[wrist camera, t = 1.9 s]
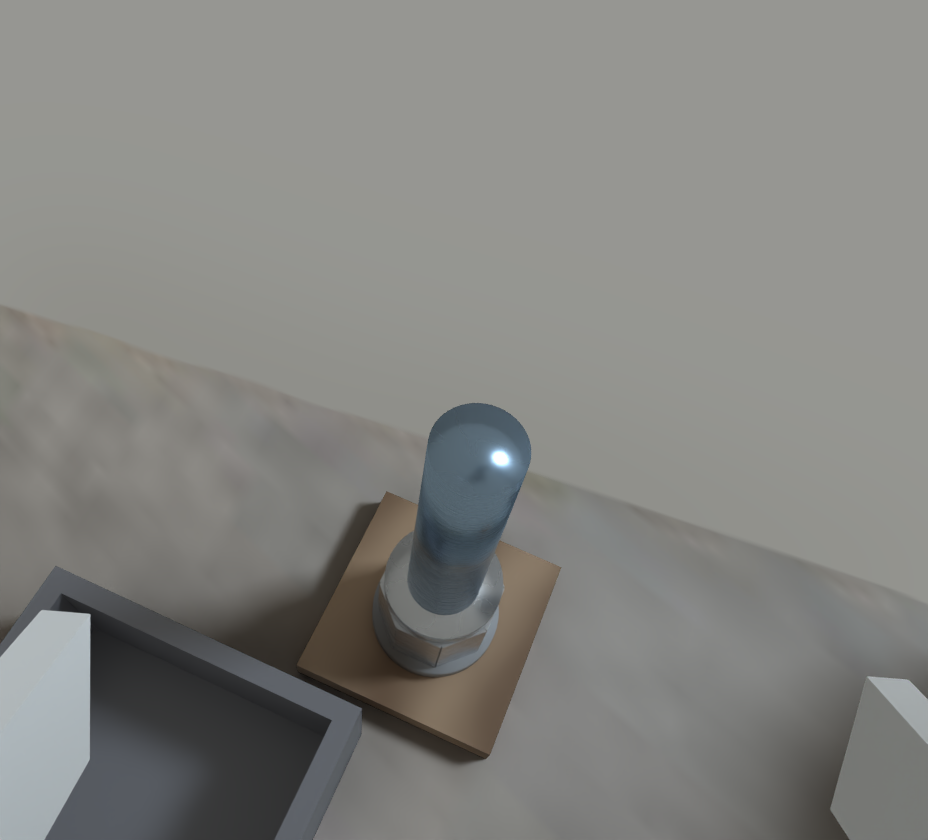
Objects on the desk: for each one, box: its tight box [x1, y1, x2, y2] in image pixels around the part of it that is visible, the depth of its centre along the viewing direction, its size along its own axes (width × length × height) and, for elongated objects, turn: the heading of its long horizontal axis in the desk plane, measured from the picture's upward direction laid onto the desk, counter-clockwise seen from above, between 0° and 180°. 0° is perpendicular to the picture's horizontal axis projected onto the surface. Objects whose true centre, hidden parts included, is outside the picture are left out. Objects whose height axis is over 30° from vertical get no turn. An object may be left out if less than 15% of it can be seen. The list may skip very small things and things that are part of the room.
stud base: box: [296, 492, 561, 759], centre depth 46 cm, size 11×11×6 cm
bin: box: [0, 566, 362, 840], centre depth 39 cm, size 16×16×7 cm
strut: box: [378, 403, 531, 667], centre depth 38 cm, size 6×6×19 cm
